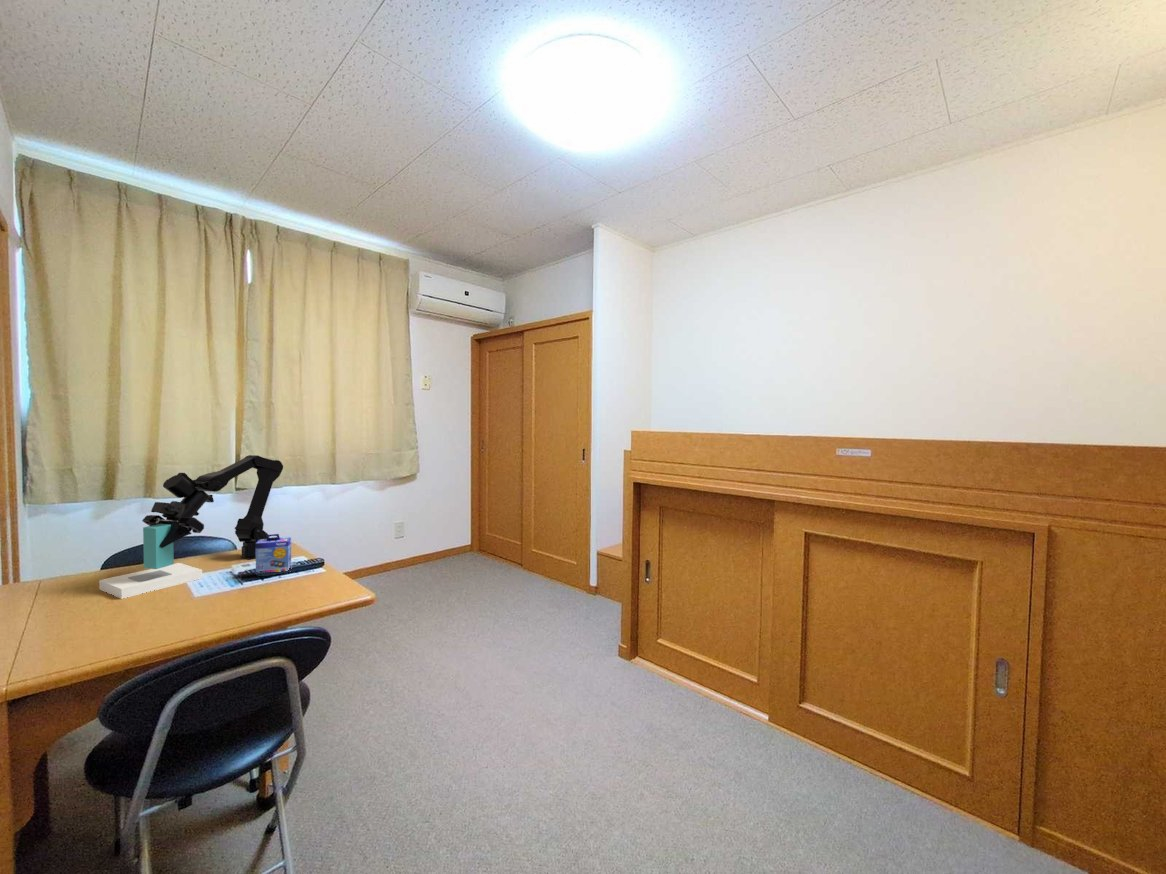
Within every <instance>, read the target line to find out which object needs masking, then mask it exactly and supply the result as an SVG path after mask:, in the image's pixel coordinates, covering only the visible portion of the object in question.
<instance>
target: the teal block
mask: <svg viewBox="0 0 1166 874" xmlns="http://www.w3.org/2000/svg"><path fill="white" fill-rule="evenodd" d="M142 528H143V529H142V533H143V534H142V535H143V539H142V540H143V541H142V542H143V544H142V545H143V568H144V569H148V570H149V569H159V568H163V567H166V566H169V565H173V564H175V563H174V562H175V561H174V560H175V558H174V554H175V553H174V542H173V543H171V544H169V545H167V546H165V547H163V548H161V547H159V545H160V544H161V542H162V541H163V540H164V538H165V537H166V536H167V534H168V533H169V532H170V530H171V525H168V524H158V525H153V526H149V525H148V526H144V527H142Z"/></svg>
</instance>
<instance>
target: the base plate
mask: <svg viewBox="0 0 1166 874" xmlns="http://www.w3.org/2000/svg"><path fill="white" fill-rule="evenodd" d="M198 579H199V580H201V579H203V569H201V568H197V567H194V566H190V565H187V564H185V563H181V562H177V563H174V564H173V565H169V566H166V567H163V568H159V569H149V568H148V569H146V570H145V569H144V570H139V571H136V572H132V573H127V574H122V575H117V576H112V577H109V578H108V577H107V578H104V579H100V580H98V581H99V590H100V591H102V592H104V593H106V592H107V593H106V594H109V595H111V594H112V595H111V596H113V595H114V597H116V598H118V599H120V600H123V598H124V599H127V597H128V598H131V597H135V596H138V595H142V593H143V594H147V593H151V592H155V591H158V590H163V589H166V588H170V587H173V586H174V587H175V586H179V585H182V584H186V583H190V582H194V580H195V581H197V580H198ZM154 590H155V591H154ZM150 591H151V592H150ZM146 592H147V593H146Z"/></svg>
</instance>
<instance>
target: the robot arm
mask: <svg viewBox="0 0 1166 874" xmlns="http://www.w3.org/2000/svg"><path fill="white" fill-rule="evenodd" d="M251 469H256V475H257V478H258V480H257V483H256V487H255V490H254V493H253V494H252V499H251V500H250V504H249V507H248V511H247V513H246V515H245V516H244V517H243V518H238V519H237V523H236V525H235V527H234V530H235V531H234V534H235V536H236V537H237V539H238V541H239V543H242V546H241V556H240V558H242V559H247V560H253V559H256V542H257V541H258V540H261V539H267V535H270V534H269V533H267V532H266V530H264V525H265V524H264V521H263V514H264V511H265V508H266V505H267V501H268V498H269V495H270V493H271V490H272V486H273V483H274V482H276V480H277V479H279V477H280V476H281V474H282V472H283V470H284V464H283V463H282V461H281V460H278V459H271V458H265V457H263V456H260V455H255V454H254V455H253V454H251V455H250V454H249V455H246V456H245V457H244V458H242V459H240V460H238V461H235V462H233V463H232V464H230V465H229V466H226V467H224V468H223V469H220V470H217V471H212V472H208V473H205V474H202V475H199V476H198V477H197V478H195V479H192V478H190V477H189V476H188V474H187V473H186V472H178V473H177V474H176V475H172V476H171V477H169V478H167V479H166V480H165V481H164V482H163V485H162V487H163V489H165V490H167V491H168V492H169V493H171V494H172V495H173V496H175V497H176V498H177V499H181V500H180V501H177V500H176V501H175V500H172V501H170V502H161V501H155V502H154V503H153V506H152V508H151V510H150V512H151V513H158V514H147V515H146V516H144V518H143V519H142V523H144V524H146V525H148V526H153V525H158V524H168V525H171V530H170V532H169V533H168V534H167V536H166V537H165V538H164V540H163V541H162V542H161V544H160V545H159V547H161V548H163V547H165V546H167V545H169V544H171V543H173V544H174V543H175V542H176V541H178V540H181V539H182V538H183V539H184V538H185V537H187V536H189V535H192V533H193V534H194V533H195V534H200V533H202V531H203V530H204V529H205V524H204V523H203V522H201V521H200V520H198V519H197V518H196V517H198V516H199V515H200V512H199V510H201V508H202V507H203V506H204V505H205V503H214V502H215V500H214V498H213V497H214V496H213V495H214V494H209V493H207V492H213V493H215V492H219V491H222V489H224V488H225V487H226V486H227V485H228V483H229V482H230V481H231V480H232V479H234V478H236V477H237V476H238V477H239V476H240V475H241V474H243V473H246V472H247V471H249V470H251ZM159 514H161V515H159ZM194 516H196V517H194Z"/></svg>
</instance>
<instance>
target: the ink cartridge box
mask: <svg viewBox="0 0 1166 874" xmlns="http://www.w3.org/2000/svg"><path fill="white" fill-rule="evenodd" d="M290 565H291V566H292V537H291V536H287V537H280V534H279V533H273V534H269V535H267V539H261V540H258V541H257V542H256V558H255V573H256V572H258V571H264V572H265V571H266V572H281V571H288V570H289V568H290Z"/></svg>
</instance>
